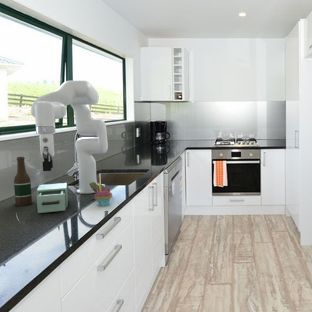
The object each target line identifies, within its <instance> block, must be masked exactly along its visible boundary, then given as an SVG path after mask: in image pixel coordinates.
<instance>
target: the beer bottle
mask: <svg viewBox="0 0 312 312" xmlns="http://www.w3.org/2000/svg"><path fill="white" fill-rule="evenodd" d="M16 160H17V162H16V163H17V164H16V165H17V167H16V168H17V169H16V170H17V172H16V174H15V176H14V179H13V188H14V201H15V206H19V207H23V206H29V205H32V204H33V195H32V182H31V177H30V175H29V174H28V172H27V169H26V162H25V156H17V157H16Z"/></svg>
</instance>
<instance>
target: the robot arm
mask: <svg viewBox="0 0 312 312" xmlns="http://www.w3.org/2000/svg"><path fill="white" fill-rule="evenodd" d="M99 99H100V97H99V92H98V91H97V89H96V88H95V87H94V86H93V85H92V83H90V82H89V81H87V80H66V81H64V82H63V83H62V84H61V85H60V86H59V87H58V88H57V89H56V90H55V91H51V92H49V93H46V94H43V95H41V96H39V97H37V98H36V99H35V100H34V101H33V102H32V104H31V108H30V114H31V115H32V116H33V118H34V119H35V120H34V121H35V122H34V123H35V135H39V149H40V156H41V158H42V163H41V164H42V171H43V172H51V171H52V169H53V168H54V164H53V163H54V161H53V157H55V138H54V135H55V134H56V122H55V121H56V120H58V119H59V120H61V119H63V118H65V116H66V115H67V107H68V106H69V105H70V107H71V108H72V110H73V113H74V119H75V121H74V122H75V129H76V132H77V134H78V135H79V136H96V137H79V138H77V139H76V140H75V143H74V147H75V150H76V156H77V168H78V169H77V170H78V187H79V188H78V189H77V190H76V193H77V194H82V195H86V194H87V195H88V194H89V195H90V194H96V193H95V192H94V190H93V189H92V188H91V186H90V183H92V182H95V183H97V185H98V178H97V161H96V159H95V158H94V156H93V155H104V154H106V153H107V152H108V149H109V143H108V133H107V125H106V122H105V120H104V119H102V118H92V109H91V108H90V106H92V105H93V106H95V105H97V104H98V103H99ZM100 185H103V187H104V188H105V189H106V184H105V183H104V184H103V183H100ZM98 186H99V185H98Z"/></svg>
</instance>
